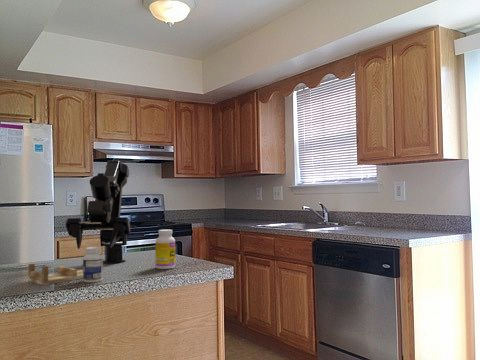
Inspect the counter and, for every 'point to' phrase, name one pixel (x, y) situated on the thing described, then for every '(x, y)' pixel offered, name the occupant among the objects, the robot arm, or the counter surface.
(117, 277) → the counter surface
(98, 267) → the pill bottle
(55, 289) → the counter surface
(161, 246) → the supplement bottle
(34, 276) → the rack
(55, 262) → the counter surface
